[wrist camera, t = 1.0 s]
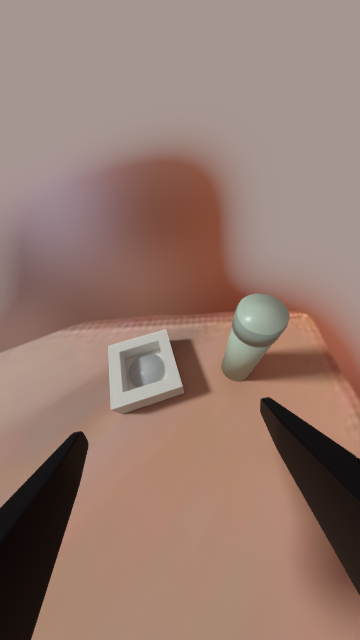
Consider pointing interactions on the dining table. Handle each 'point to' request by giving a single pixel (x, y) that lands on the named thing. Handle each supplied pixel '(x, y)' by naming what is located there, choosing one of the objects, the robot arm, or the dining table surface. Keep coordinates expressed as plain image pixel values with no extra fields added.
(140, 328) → the dining table surface
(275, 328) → the toggle switch lever
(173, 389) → the housing
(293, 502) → the dining table surface
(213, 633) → the dining table surface
